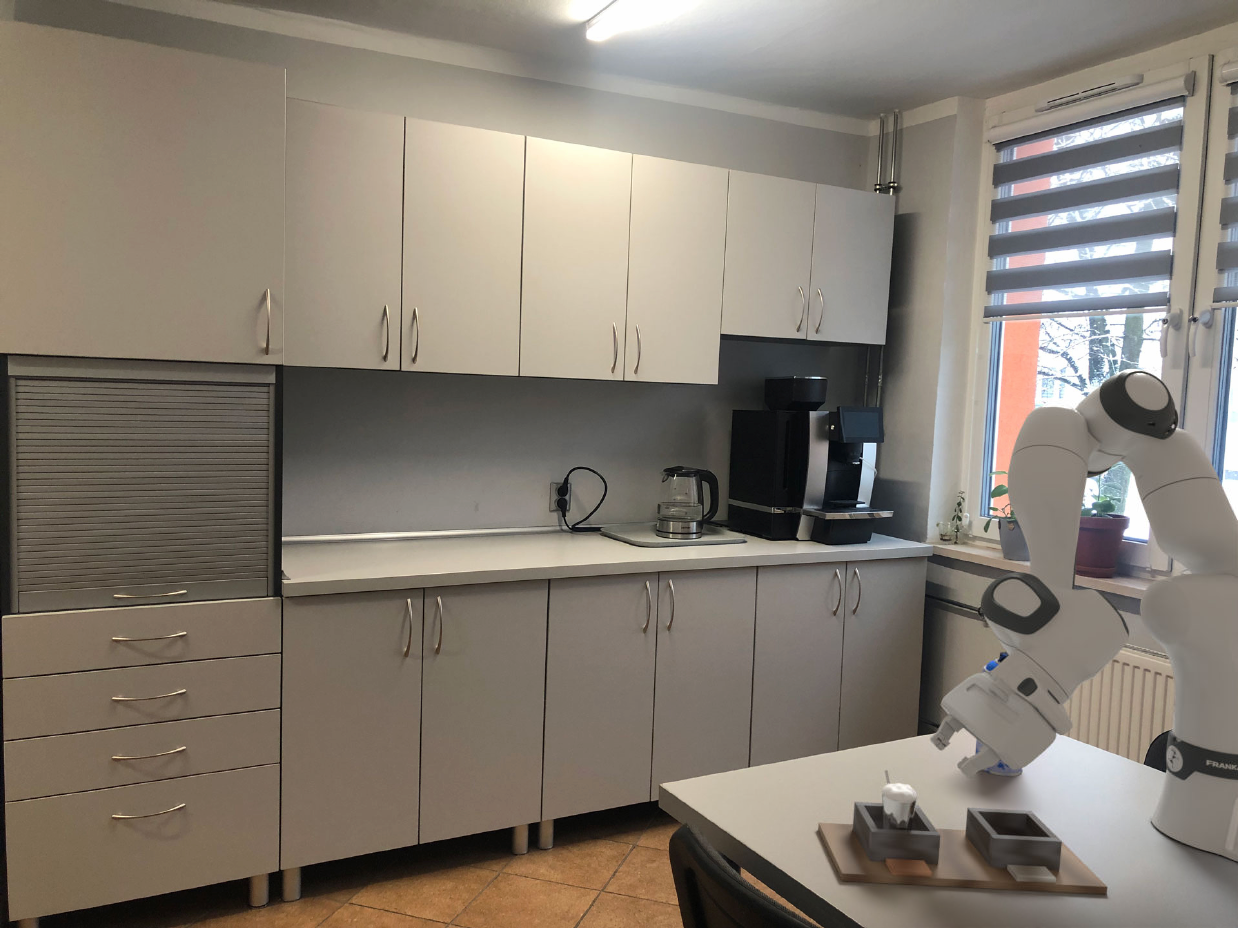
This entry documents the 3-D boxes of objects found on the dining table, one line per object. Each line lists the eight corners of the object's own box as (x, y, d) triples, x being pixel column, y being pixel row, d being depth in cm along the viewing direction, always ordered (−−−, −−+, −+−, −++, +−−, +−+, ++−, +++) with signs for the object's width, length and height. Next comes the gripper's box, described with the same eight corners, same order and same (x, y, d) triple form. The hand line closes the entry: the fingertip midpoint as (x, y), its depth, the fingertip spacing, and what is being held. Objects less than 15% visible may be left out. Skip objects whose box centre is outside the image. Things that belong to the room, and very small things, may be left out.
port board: (1054, 841, 130) (1057, 807, 130) (1106, 894, 116) (1110, 856, 116) (818, 829, 130) (820, 795, 130) (841, 880, 116) (844, 842, 116)
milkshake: (894, 838, 126) (899, 768, 126) (920, 856, 121) (925, 784, 121) (867, 842, 125) (872, 771, 124) (891, 861, 120) (897, 787, 119)
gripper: (976, 651, 132) (905, 715, 132) (1047, 695, 111) (963, 770, 111) (1005, 683, 132) (934, 746, 132) (1080, 732, 111) (996, 807, 112)
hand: (948, 758), depth 122 cm, fingers open, 8 cm apart
